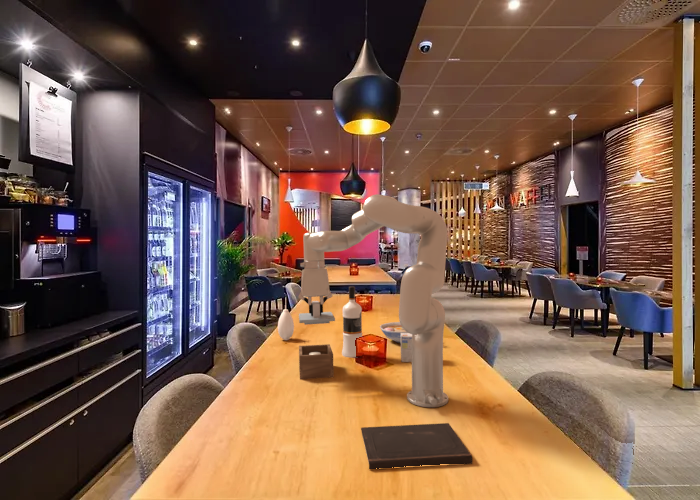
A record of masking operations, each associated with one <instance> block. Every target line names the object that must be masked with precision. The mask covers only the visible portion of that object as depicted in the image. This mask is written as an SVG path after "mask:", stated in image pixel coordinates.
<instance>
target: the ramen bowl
mask: <svg viewBox="0 0 700 500" xmlns="http://www.w3.org/2000/svg"><path fill="white" fill-rule="evenodd" d="M379 328H380V330H381V332H382V333H383V334H384V336H385V337H386V338H388V339H390V340H392V341H393V342H396V343H399V344H401V333H408V332H406V331H405V330H404V329H403V328H402V326H401V324H400V321H394V322H387V323H385V322H384V323H383V324H380V326H379Z"/></svg>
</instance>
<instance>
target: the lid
mask: <svg viewBox="0 0 700 500" xmlns="http://www.w3.org/2000/svg"><path fill="white" fill-rule="evenodd" d="M311 302H312V305H313V316H311V313H309V312H302V313H300V312H299V313H298V319H299V320H298V322H299V324H304V325H305V326H306V325H320V324H330V322H336V317H335V316H334V313H333V312H332V311H323V313H321V315H320V303H319V302H320V300H311Z"/></svg>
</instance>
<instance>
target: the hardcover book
mask: <svg viewBox="0 0 700 500" xmlns="http://www.w3.org/2000/svg"><path fill="white" fill-rule="evenodd" d="M360 430H361V436H362V437H361V438H362V440H363V441H362V442H363V446H364V445H365V446H364V450H365V453H366V454H367V455H366V458H367V463H368V470H369V469H376V468H377V469H379V468H392V467H393V468H394V467H404V466H405V467H406V466H420V465H421V466H422V465H440V464H464V465H472V464H473V456H472V454H471V452H470V451H469V450H468V448H467V447H466V445H465V444H464V442H463V441H462V440H461V438H460V437H459V435H458V434H457V433H456V432H455V431H456V430H454V428H453V427H452V426H451V425H450V423H449V422H445V423H444V422H443V423H440V422H439V423H425V424H423V423H422V424H407V425H406V424H405V425H404V424H403V425H402V424H401V425H386V426H384V425H383V426H365V427H360ZM379 470H380V469H379Z"/></svg>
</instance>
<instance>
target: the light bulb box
mask: <svg viewBox="0 0 700 500" xmlns="http://www.w3.org/2000/svg"><path fill="white" fill-rule="evenodd" d="M400 362H401V363H412V334H410V333H401V343H400Z"/></svg>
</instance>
